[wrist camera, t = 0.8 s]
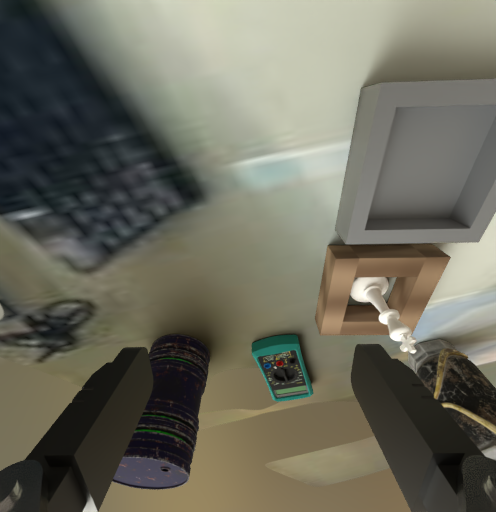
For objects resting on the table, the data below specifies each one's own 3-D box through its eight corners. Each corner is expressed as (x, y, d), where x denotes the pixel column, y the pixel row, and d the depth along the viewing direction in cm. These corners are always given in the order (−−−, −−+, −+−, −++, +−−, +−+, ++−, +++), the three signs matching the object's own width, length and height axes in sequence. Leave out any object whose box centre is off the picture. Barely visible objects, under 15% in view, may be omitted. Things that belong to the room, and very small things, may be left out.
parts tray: (361, 88, 19) (381, 82, 16) (520, 83, 19) (570, 76, 16) (334, 229, 26) (345, 244, 23) (451, 227, 26) (478, 242, 23)
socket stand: (327, 245, 27) (335, 258, 24) (431, 243, 27) (450, 257, 24) (314, 318, 33) (320, 335, 30) (399, 317, 33) (411, 334, 30)
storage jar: (176, 377, 41) (142, 494, 28) (137, 346, 37) (77, 467, 24) (222, 361, 39) (208, 481, 26) (186, 325, 34) (147, 449, 21)
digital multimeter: (295, 328, 35) (299, 345, 32) (311, 382, 42) (315, 399, 40) (249, 337, 36) (249, 354, 34) (272, 388, 43) (273, 405, 41)
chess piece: (394, 274, 29) (454, 339, 20) (373, 302, 31) (419, 371, 23) (359, 265, 28) (406, 329, 20) (340, 295, 31) (375, 362, 22)
